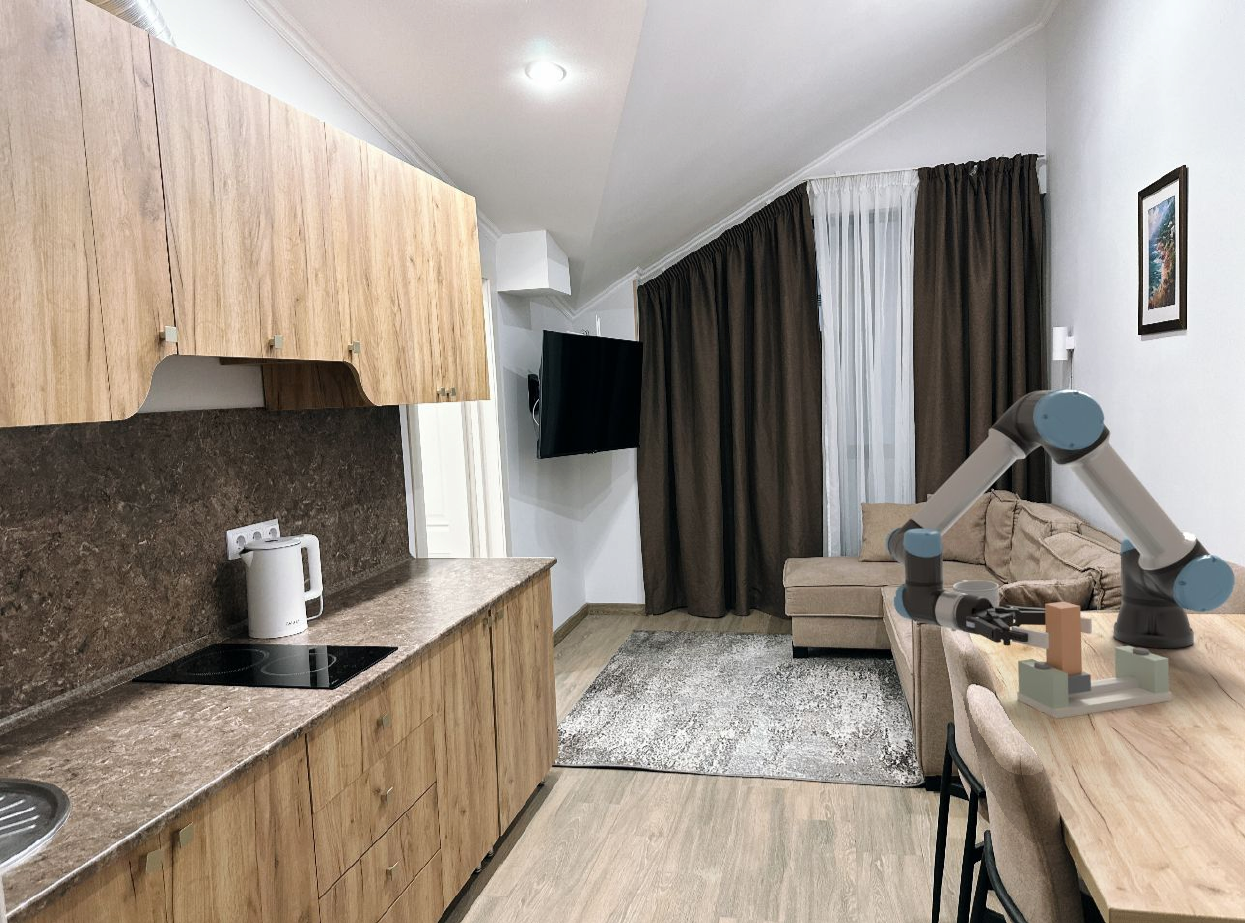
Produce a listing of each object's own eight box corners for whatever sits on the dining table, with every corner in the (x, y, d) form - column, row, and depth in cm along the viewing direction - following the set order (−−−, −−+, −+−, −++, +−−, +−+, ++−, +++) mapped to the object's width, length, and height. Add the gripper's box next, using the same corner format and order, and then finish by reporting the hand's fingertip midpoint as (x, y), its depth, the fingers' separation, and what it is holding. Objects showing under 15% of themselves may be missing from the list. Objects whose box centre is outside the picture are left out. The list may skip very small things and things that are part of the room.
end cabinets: (1129, 676, 162) (1128, 642, 162) (1168, 691, 153) (1168, 655, 153) (1019, 692, 157) (1018, 657, 156) (1053, 709, 148) (1052, 672, 148)
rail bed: (1127, 683, 163) (1126, 668, 162) (1171, 700, 153) (1171, 684, 153) (1017, 699, 158) (1017, 684, 157) (1056, 718, 148) (1055, 701, 148)
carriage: (1062, 679, 158) (1060, 599, 157) (1090, 691, 151) (1089, 607, 150) (1039, 682, 157) (1036, 602, 156) (1066, 694, 150) (1064, 611, 149)
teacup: (1004, 620, 211) (1003, 588, 210) (958, 620, 213) (956, 589, 212) (991, 606, 224) (990, 576, 224) (948, 607, 227) (947, 577, 226)
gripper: (1003, 619, 177) (1107, 640, 159) (925, 643, 163) (1028, 669, 145) (1002, 584, 176) (1106, 600, 158) (923, 605, 163) (1027, 626, 145)
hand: (1069, 633), depth 152 cm, fingers open, 13 cm apart
